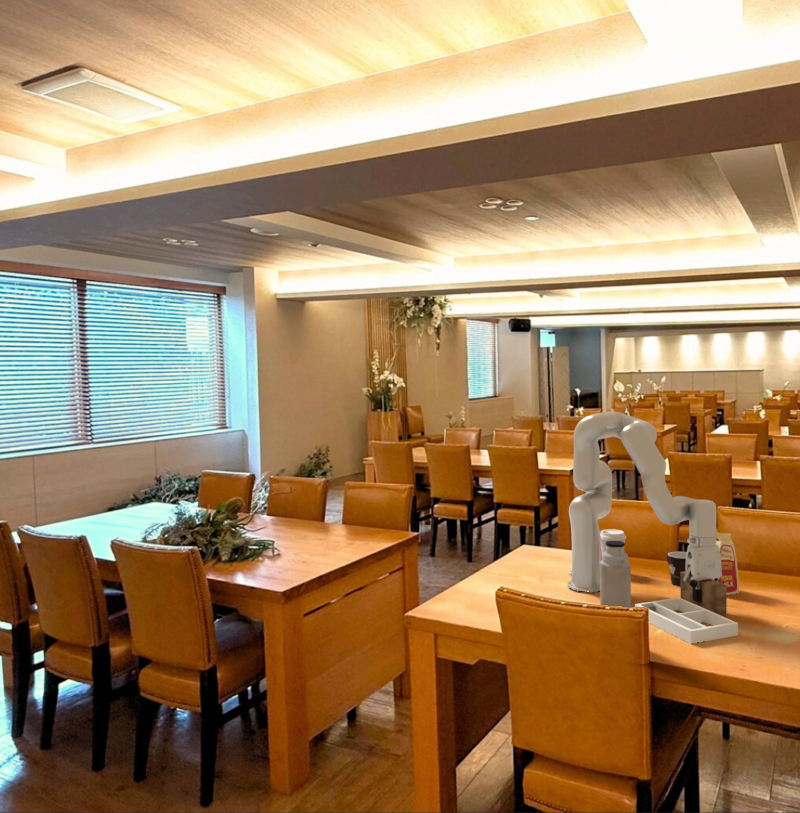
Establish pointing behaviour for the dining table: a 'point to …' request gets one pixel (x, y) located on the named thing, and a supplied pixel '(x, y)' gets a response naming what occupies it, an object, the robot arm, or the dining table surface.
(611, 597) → the thermos bottle
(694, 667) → the dining table surface
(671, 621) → the white compartment tray
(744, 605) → the dining table surface
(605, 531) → the coffee cup
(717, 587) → the brown wooden block
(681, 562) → the coffee mug
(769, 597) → the dining table surface
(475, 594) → the dining table surface
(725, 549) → the milk carton
